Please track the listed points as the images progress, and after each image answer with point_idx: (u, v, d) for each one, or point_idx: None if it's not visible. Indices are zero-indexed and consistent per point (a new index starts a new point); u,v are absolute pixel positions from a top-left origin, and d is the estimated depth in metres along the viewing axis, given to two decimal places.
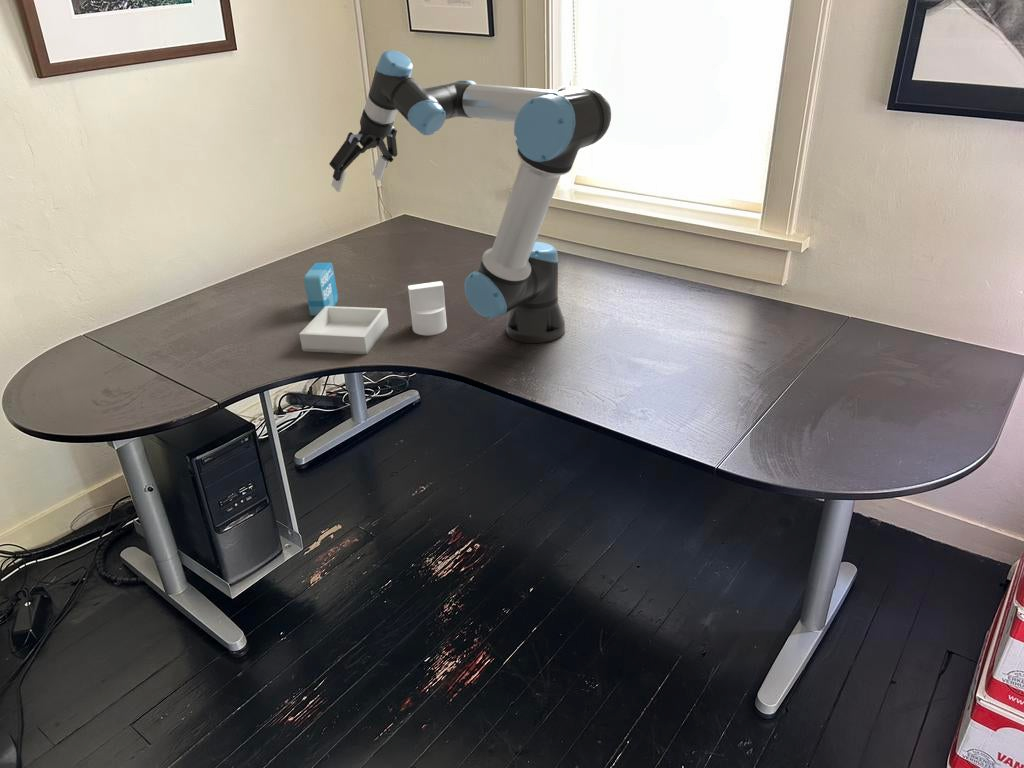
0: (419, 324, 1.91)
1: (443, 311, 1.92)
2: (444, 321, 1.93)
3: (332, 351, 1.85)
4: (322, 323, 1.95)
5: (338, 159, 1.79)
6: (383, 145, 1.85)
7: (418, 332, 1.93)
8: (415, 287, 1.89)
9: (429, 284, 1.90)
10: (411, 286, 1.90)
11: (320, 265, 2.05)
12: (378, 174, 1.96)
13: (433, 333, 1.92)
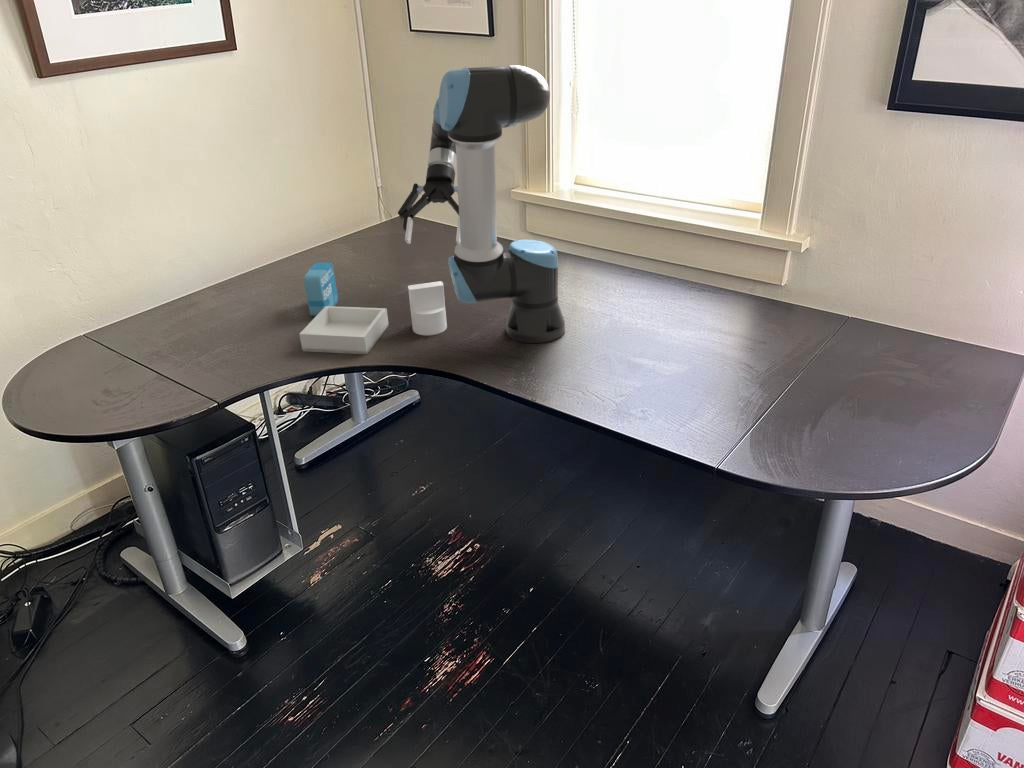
0: (419, 324, 1.91)
1: (443, 311, 1.92)
2: (444, 321, 1.93)
3: (332, 351, 1.85)
4: (322, 323, 1.95)
5: None
6: (448, 195, 1.96)
7: (418, 332, 1.93)
8: (415, 287, 1.89)
9: (429, 284, 1.90)
10: (411, 286, 1.90)
11: (320, 265, 2.05)
12: None
13: (433, 333, 1.92)
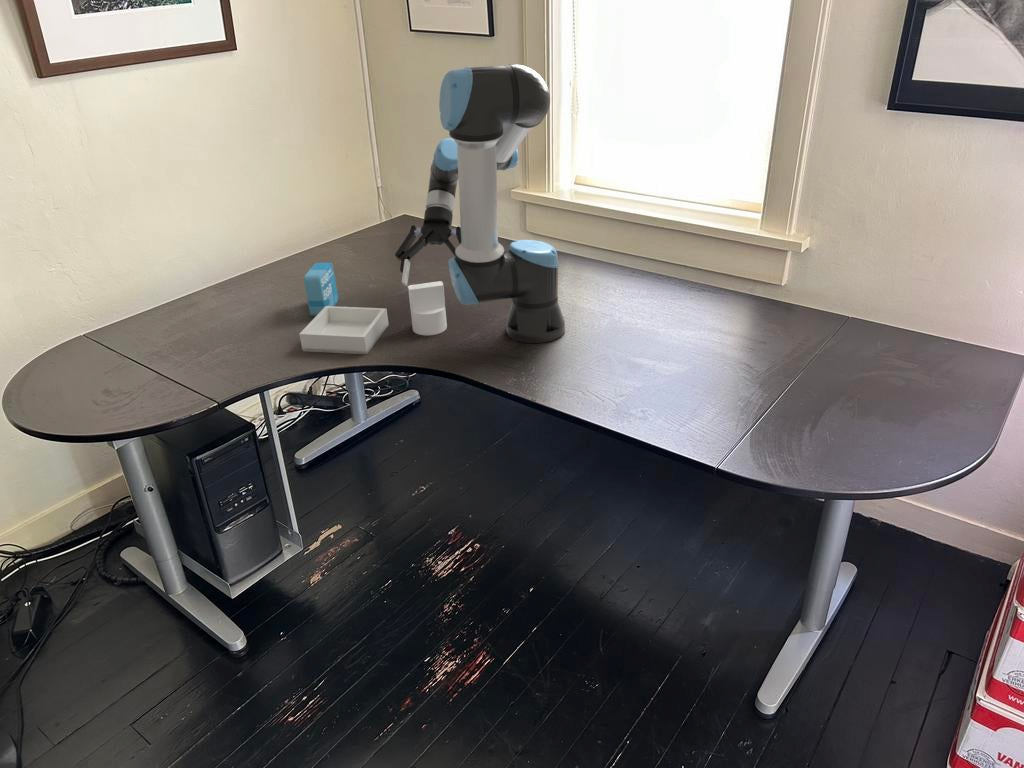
0: (419, 324, 1.91)
1: (443, 311, 1.92)
2: (444, 321, 1.93)
3: (332, 351, 1.85)
4: (322, 323, 1.95)
5: None
6: (445, 237, 1.97)
7: (418, 332, 1.93)
8: (415, 287, 1.89)
9: (429, 284, 1.90)
10: (411, 286, 1.90)
11: (320, 265, 2.05)
12: None
13: (433, 333, 1.92)
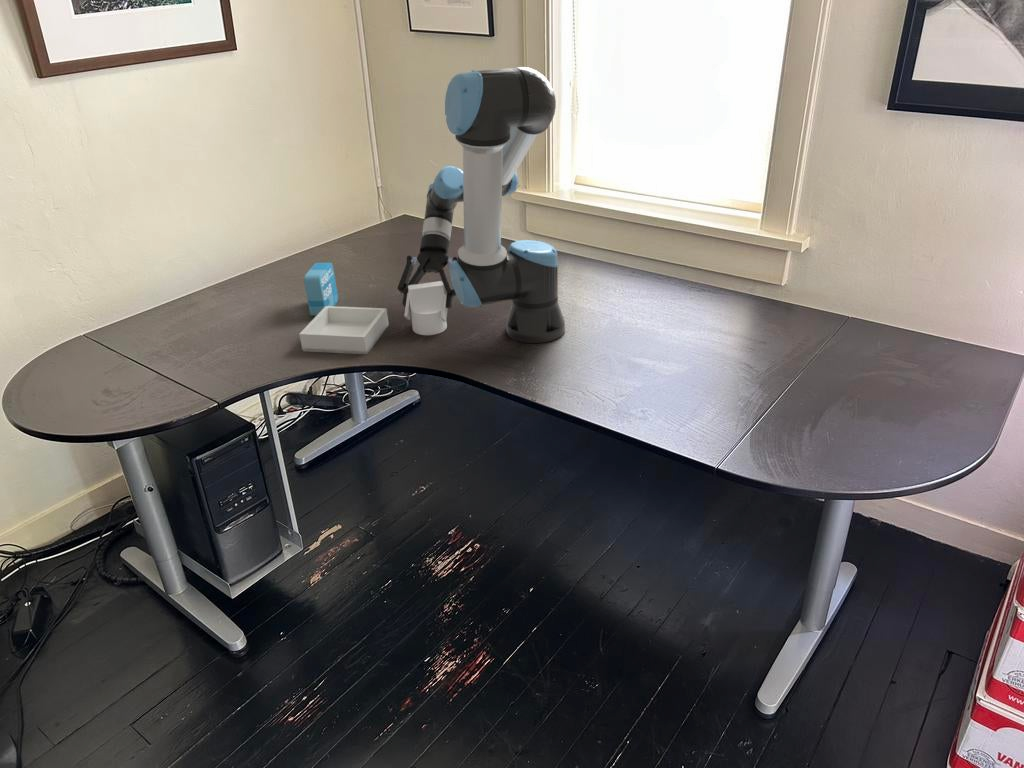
0: (419, 324, 1.91)
1: None
2: None
3: (332, 351, 1.85)
4: (322, 323, 1.95)
5: None
6: (439, 267, 1.93)
7: (418, 332, 1.93)
8: (415, 287, 1.89)
9: (429, 284, 1.90)
10: (411, 286, 1.90)
11: (320, 265, 2.05)
12: None
13: (433, 333, 1.92)
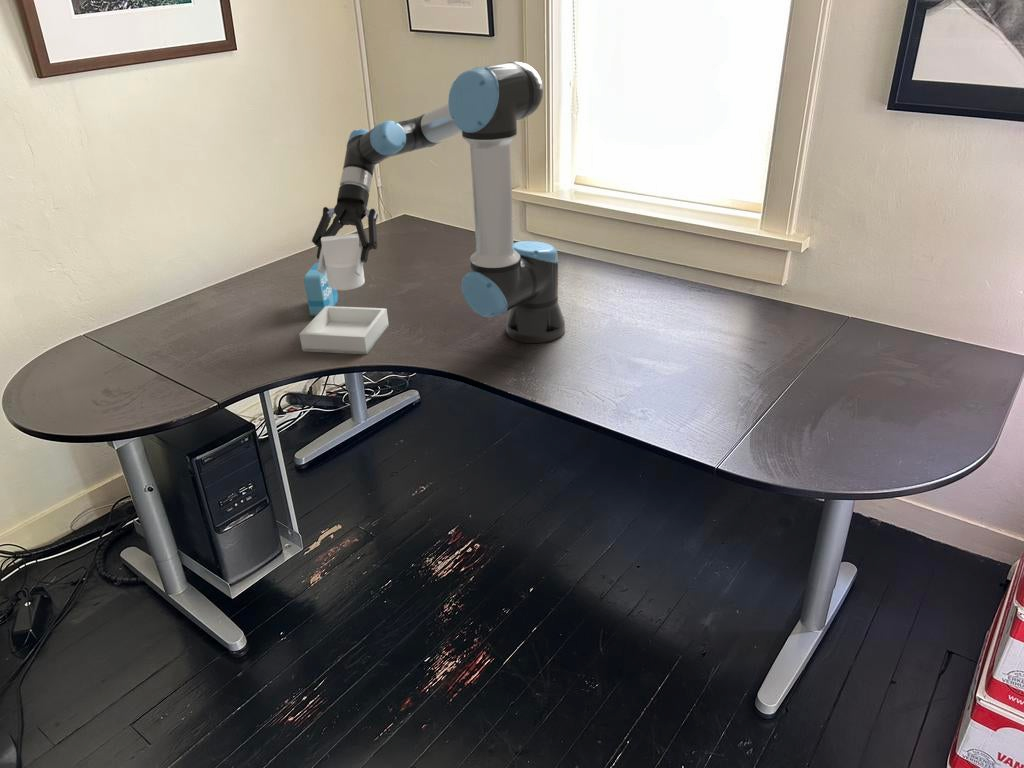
0: (333, 278, 1.82)
1: None
2: (360, 276, 1.84)
3: (332, 351, 1.85)
4: (322, 323, 1.95)
5: None
6: (355, 219, 1.83)
7: (332, 287, 1.84)
8: (328, 239, 1.80)
9: (343, 236, 1.81)
10: (324, 238, 1.81)
11: None
12: None
13: (348, 288, 1.83)
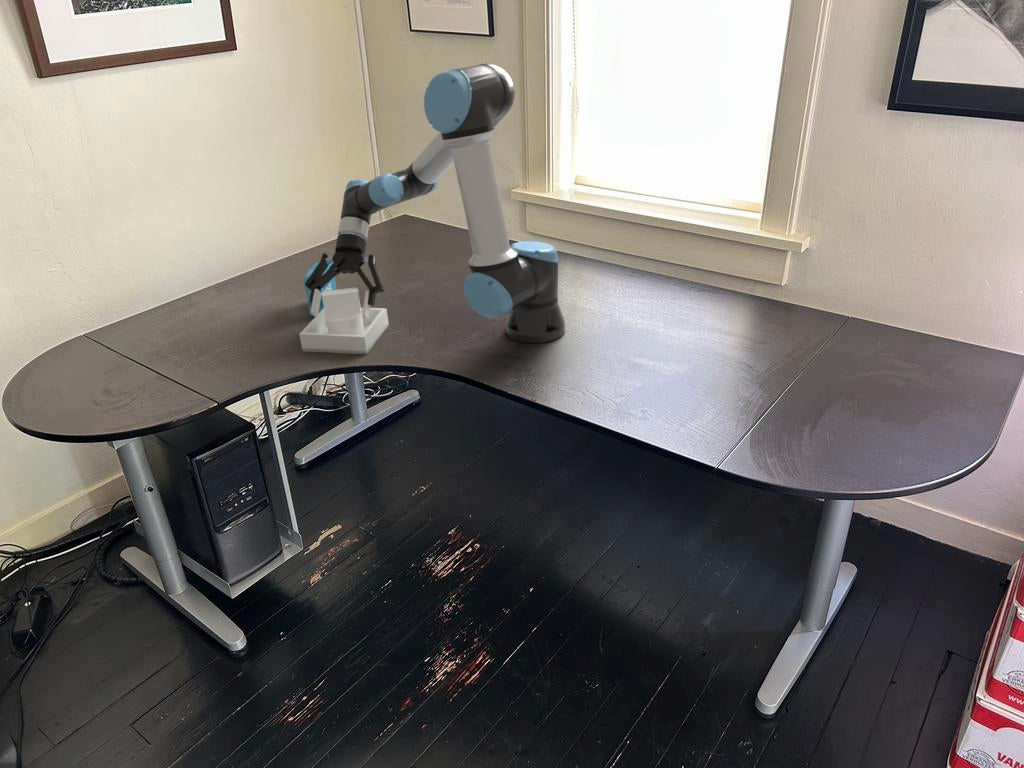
0: (333, 331, 1.87)
1: (358, 318, 1.88)
2: (360, 328, 1.90)
3: (332, 351, 1.85)
4: (322, 323, 1.95)
5: None
6: (356, 266, 1.88)
7: None
8: (329, 293, 1.85)
9: (344, 290, 1.87)
10: (325, 292, 1.86)
11: None
12: None
13: None
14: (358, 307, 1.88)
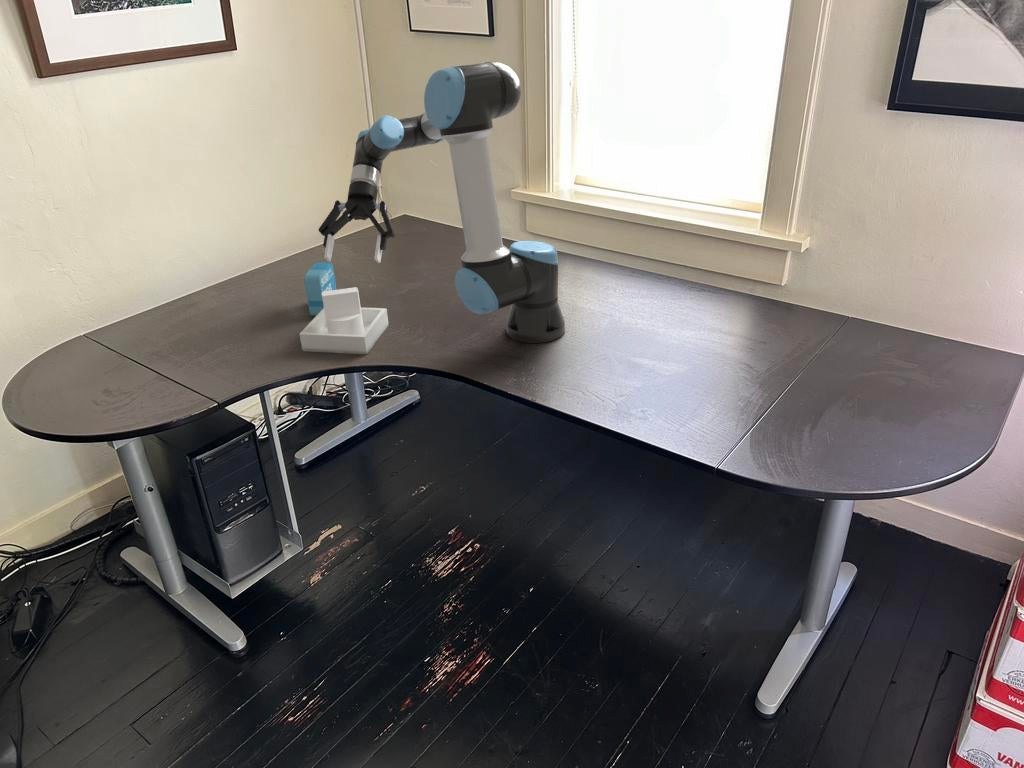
0: (333, 331, 1.87)
1: (358, 318, 1.88)
2: (360, 328, 1.90)
3: (332, 351, 1.85)
4: (322, 323, 1.95)
5: None
6: (368, 212, 1.94)
7: None
8: (329, 293, 1.85)
9: (344, 290, 1.87)
10: (325, 292, 1.86)
11: (320, 265, 2.05)
12: None
13: None
14: (358, 307, 1.88)
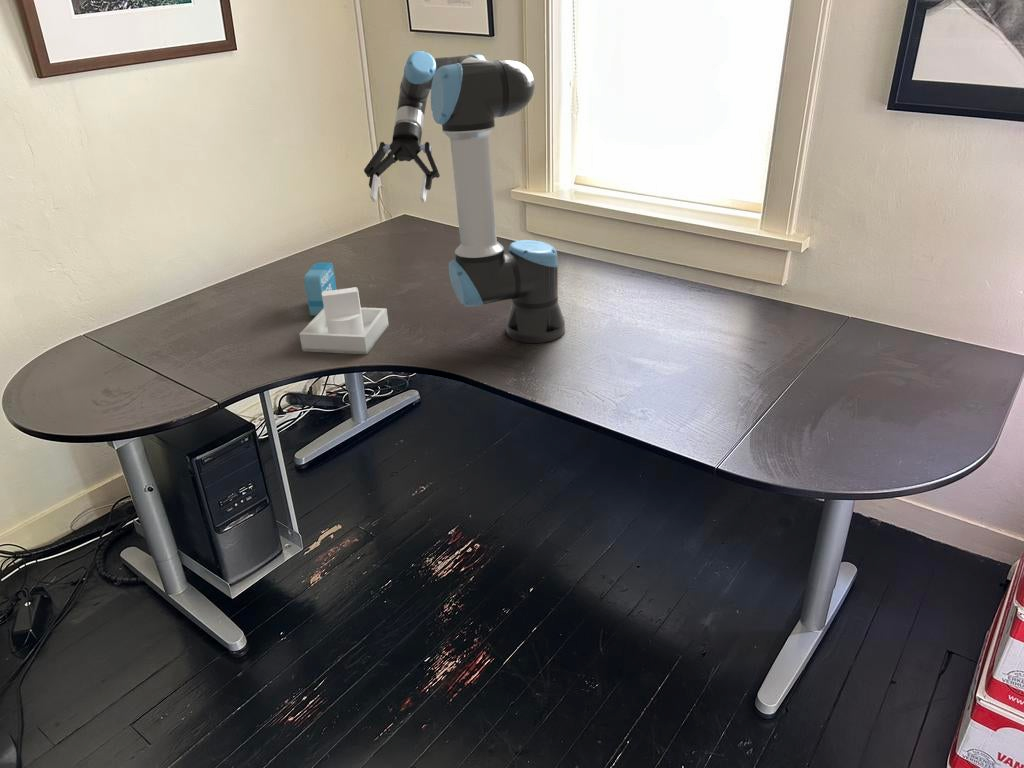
0: (333, 331, 1.87)
1: (358, 318, 1.88)
2: (360, 328, 1.90)
3: (332, 351, 1.85)
4: (322, 323, 1.95)
5: None
6: (413, 152, 1.96)
7: None
8: (329, 293, 1.85)
9: (344, 290, 1.87)
10: (325, 292, 1.86)
11: (320, 265, 2.05)
12: None
13: None
14: (358, 307, 1.88)
